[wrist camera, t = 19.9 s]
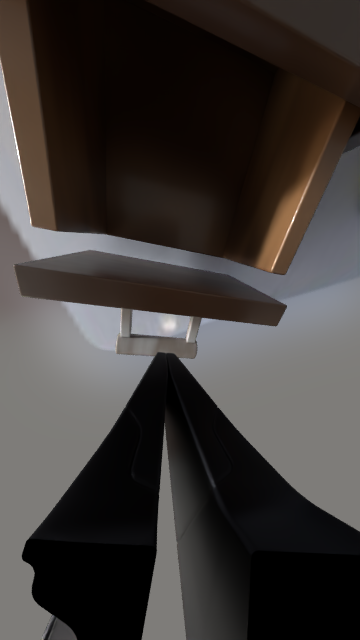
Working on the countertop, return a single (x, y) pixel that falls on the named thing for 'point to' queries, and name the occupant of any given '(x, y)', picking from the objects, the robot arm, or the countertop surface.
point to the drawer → (161, 158)
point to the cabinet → (289, 38)
